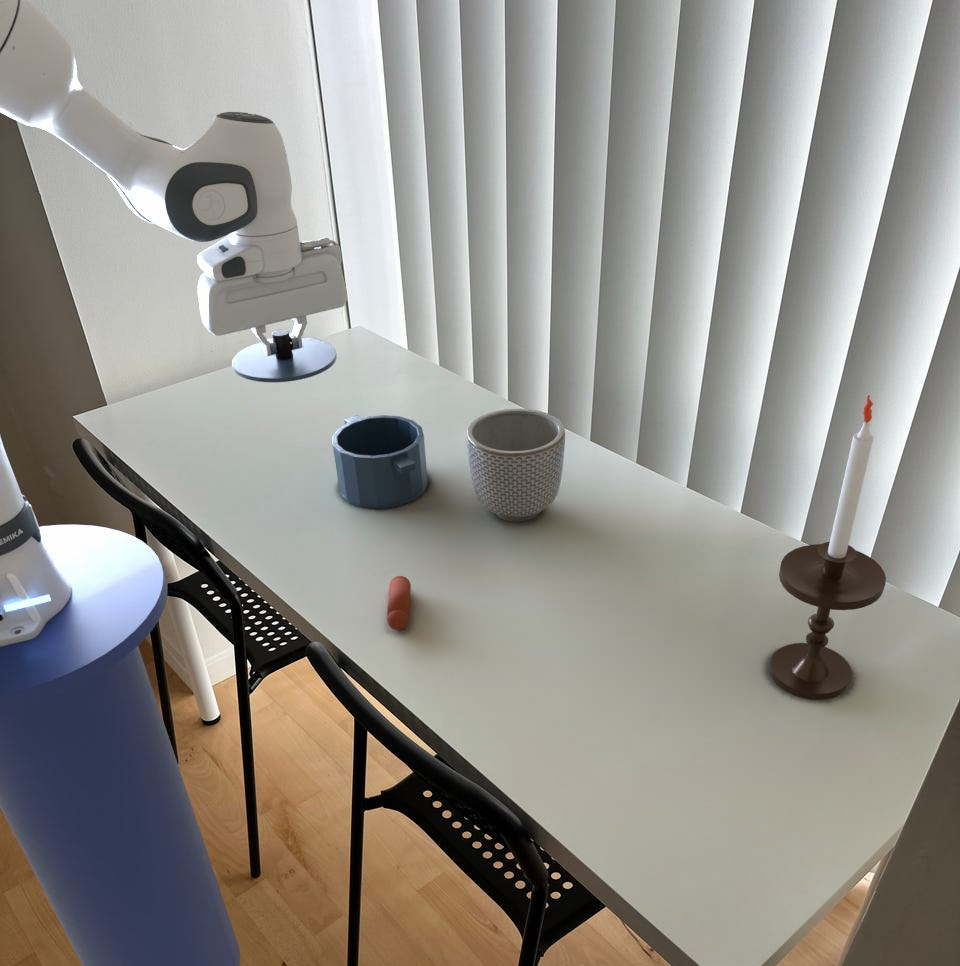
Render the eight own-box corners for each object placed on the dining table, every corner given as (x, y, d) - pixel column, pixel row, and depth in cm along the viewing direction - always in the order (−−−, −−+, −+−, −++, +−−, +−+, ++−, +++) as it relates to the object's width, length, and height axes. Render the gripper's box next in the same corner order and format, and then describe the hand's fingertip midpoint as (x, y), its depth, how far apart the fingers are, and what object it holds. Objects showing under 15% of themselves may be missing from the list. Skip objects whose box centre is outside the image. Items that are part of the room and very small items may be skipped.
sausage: (409, 634, 123) (407, 616, 121) (387, 635, 123) (385, 617, 121) (411, 588, 131) (410, 571, 129) (390, 589, 131) (388, 571, 129)
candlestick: (810, 717, 109) (879, 430, 87) (741, 665, 116) (789, 387, 94) (878, 681, 113) (960, 398, 91) (808, 633, 120) (868, 359, 98)
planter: (583, 506, 145) (585, 426, 137) (520, 546, 137) (519, 464, 129) (513, 476, 153) (511, 399, 144) (450, 513, 145) (445, 433, 137)
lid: (256, 395, 131) (249, 362, 128) (218, 360, 141) (212, 328, 138) (354, 370, 137) (350, 337, 134) (312, 337, 147) (307, 306, 144)
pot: (371, 526, 143) (365, 474, 138) (318, 473, 156) (310, 424, 151) (452, 498, 148) (448, 447, 143) (393, 449, 161) (388, 401, 156)
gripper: (328, 229, 135) (340, 327, 144) (184, 258, 127) (206, 360, 136) (348, 240, 131) (359, 341, 139) (200, 270, 123) (222, 375, 131)
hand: (283, 350), depth 138 cm, fingers closed on lid, 2 cm apart
